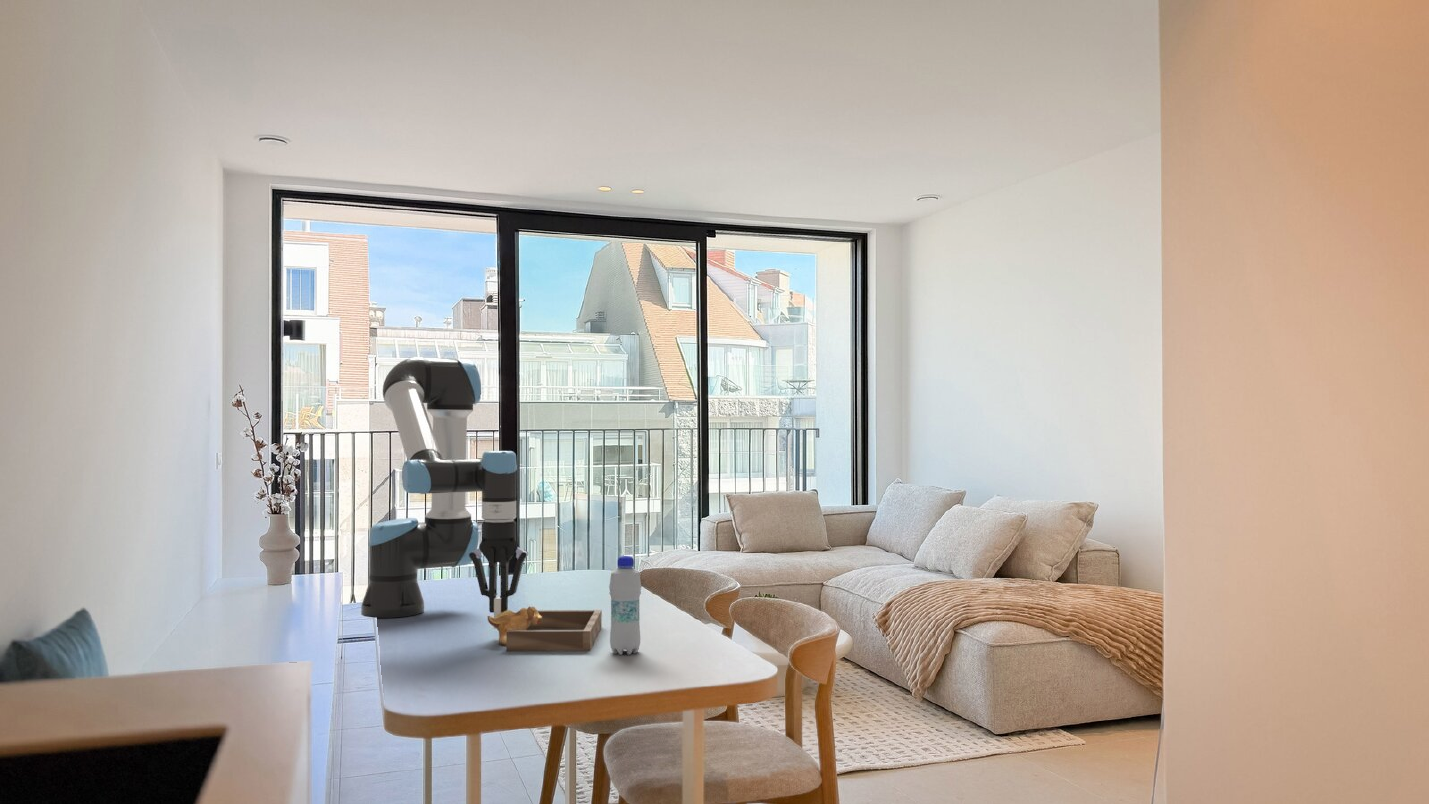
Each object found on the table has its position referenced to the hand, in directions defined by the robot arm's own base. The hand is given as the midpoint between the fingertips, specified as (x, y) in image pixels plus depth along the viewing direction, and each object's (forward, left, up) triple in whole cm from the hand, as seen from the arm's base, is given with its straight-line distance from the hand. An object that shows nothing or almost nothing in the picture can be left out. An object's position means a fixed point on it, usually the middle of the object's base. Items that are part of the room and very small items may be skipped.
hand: (498, 627), depth 217 cm
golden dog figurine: (+4, +5, -3) cm, 7 cm away
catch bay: (0, +12, -3) cm, 12 cm away
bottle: (+14, +29, -3) cm, 32 cm away
